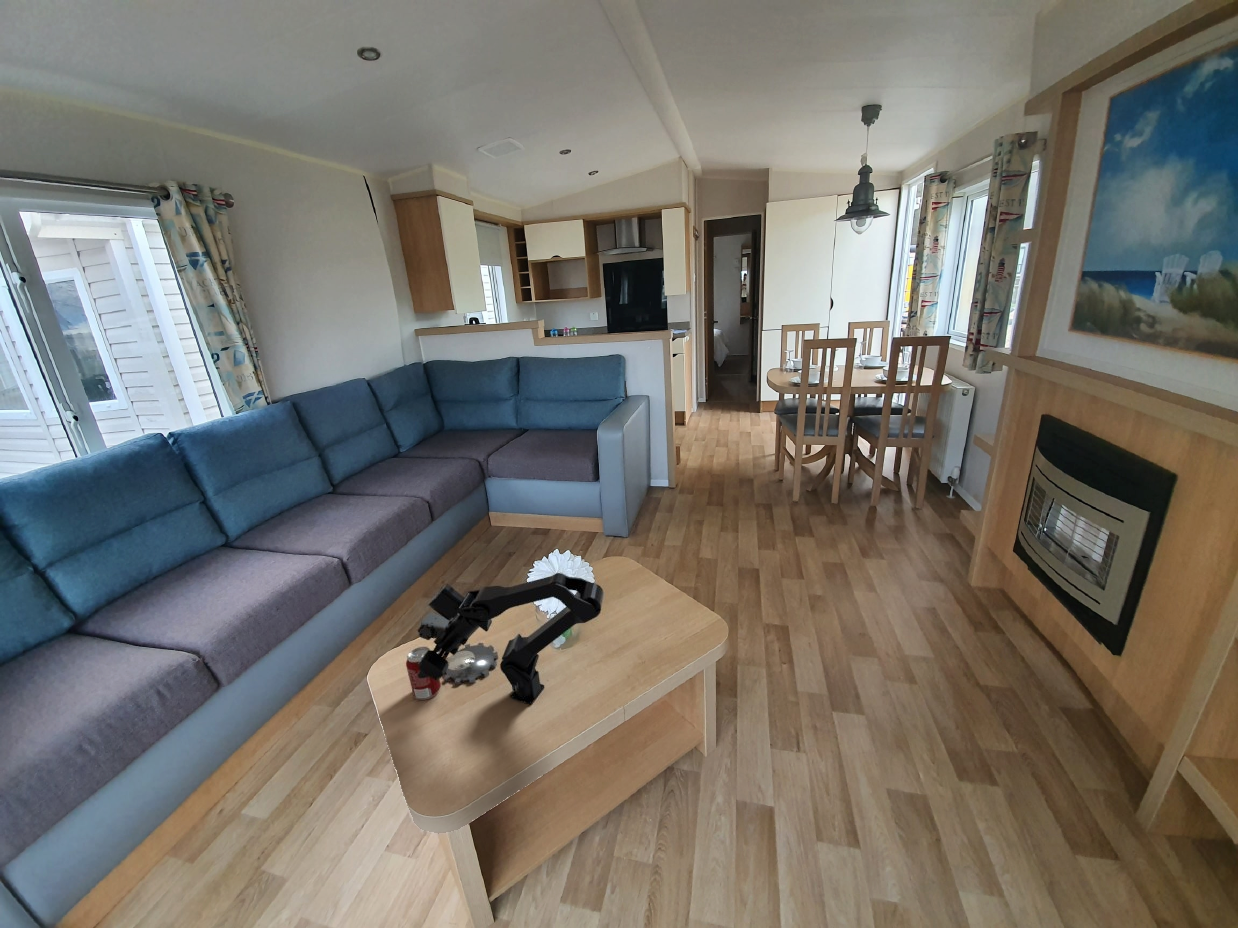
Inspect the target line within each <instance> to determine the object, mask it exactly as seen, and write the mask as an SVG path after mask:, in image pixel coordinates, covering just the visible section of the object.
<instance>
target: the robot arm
mask: <svg viewBox="0 0 1238 928" xmlns="http://www.w3.org/2000/svg"><path fill="white" fill-rule="evenodd" d="M572 591H575V593H574V592H572ZM551 598H554V599H557V600H559V602H561V603H562V604H563V605H564V606H565V607H564V608H562V610H561V609H560V611H559V612H557V614H555V615H554V616H553V617H551V618H550V619H548V621H546V622H545V623H543V625H541V626H540V627H539V628H537V629H536V630H535V631H534V632H532V633H531V634H530V635H528V636H522V634H521V633H518V634H517V635H516V636H515V637H514V638H512V639H510V640H508V642H507V645H506V647H505V649H504V653H503V654H502V656H501V662H500V664H499V667H500V671H501V672H502V674H504V676H505V677H506V679H507V680H508V683H509V684H510V685H511V689H512V693H511V694H510V696H509V698H510V699H511V700H513V701H514V700H515V701H517V702H521V703H524V704H525V705H526V704H527V705H532V704H533V703H534V702H535V701H536V700H537V698H538V697H539V695H540V694H541V693H542V692H543V690H544V689H545V685H544V684H541V681H540V674H539V671H537V669H536V666H537V663H538V661H539V658H540V655H539V654H540V653H541V651H543V650H544V649H545V648H546V647H548V646H549V645H550V644H552V643H553V642H555V641H556V640H557V639H558V638H560V637H561V636H562V635H563V634H565V633H567V631H569V630H570V629H571V628H573V626H575V625H577V624H578V625H579V624H586V623H588V622H590V621H592V620H593V619H596V618H598V617H599V615H600V614H601V610H602V606H603V600H604V589H603V588H602V587H601V585H599V584H598V583H595V582H591V581H589V580H586V579H584V578H582V577H577V576H576V577H574V576H569V575H566V574H564V573H562V572H556V573H554V574H552V575H550V576H547V577H542V578H539V579H535V580H532V581H528V582H527V581H526V582H523V583H520V584H516V585H511V586H507V587H505V586H501V585H492V586H491V585H489V586H484V587H483V588H481V589H475V590H474V589H473V590H468V591H467V593H466V594H465V595H462V594H461V593H460V592H458V591H456V589H454V588H453V587H452V586H451V585H450V584H449V583H446V585H444V586H442V587H441V588H440V589H439V590H438V591H437V592H436V594H434V596H433V597H432V598H431V599H430V601H429V602H428V604H427V606H428V607H429V608H431V609H432V610H433V611H435V612H436V613H433V612H432V611H431V612H427V613H426V615H424V617H423V619H422V620H421V622H420V625H419V627H418V629H417V632H418V636H419V638H421V639H423V640H424V639H425V640H427V641H431V639H434V640H433V643H434V644H435V647H434V648H433V649H430V650H428V651H427V652H426V653H425V654H424V655H423V657H422V658H421V660H420V662H419V663H418V668H419V669H420V672H419V673H418V675H417V677H419V678H420V679H421V678H426V677H432V678H433V679H434V680H440V679H442V678H443V677H444V676H445V674H444V673H445V672H446V670H447V668H448V666H449V664H448V661H447V660H446V658H448V656H449V655H450V654H451V655H452V654H453V655H455V654H456V652H457V651H459V650H460V647H461V646H463V647H465V645H467V642H468V640H469V638H470V637H471V636H472V635H474V633H475V632H477V630H478V629H479V628H480V629H482V630H483V631H485V632H488V631H489V629H490V627H491V626H492V623H493V619H495V618H497V617H499V616H500V615H502V614H503V613H504V612H506V611H507V610H510V609H512V608H516V607H520V606H523V605H527V604H532V603H535V602H539V601H543V600H547V599H551Z"/></svg>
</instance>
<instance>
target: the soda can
mask: <svg viewBox="0 0 1238 928" xmlns="http://www.w3.org/2000/svg"><path fill="white" fill-rule="evenodd" d="M428 650H431V649H430V648H429V647H428V646H419V647H416V648H414V649H413V650H410V652H409V653H408V654H407V656H406V657H407V659H406V662H405V666H406V671H407V674H408V679H409V683H410V686H411V687H410V688H411V691H412V692H411V693H412V695H413V697H414V698H415V699H417V700H422V701H423V700H429V699H431V698H433V697H434V696H435V695H436V694H438V693H439V691H440V689H441V685H442V684H441V681H440V679H439V680H434V679H433V678H432V677H426V678H421V679H420V678H419V677H417V675H418V673H419V672H420V669H419V668H418V663H419V662H420V660H421V658H422V657H423V655H424V654H425V653H426V652H427V651H428Z"/></svg>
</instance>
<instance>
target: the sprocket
mask: <svg viewBox="0 0 1238 928" xmlns="http://www.w3.org/2000/svg"><path fill="white" fill-rule="evenodd" d="M497 659H499V654H498V651H495V648H494V646H493V645H491V644H490V645H488V646H485V645H484V643H483V642H478V643H477V645H471V644H470V643H468V644H467V643H466V644H465V645H464V647H463V648H461V649H458V651H457V652H456V654H455V655H453V654H451V656H449V657H447V658H446V660H447V661H448V664H449V666H448V668H447V670H446V672H445V673H444V675H443V678H444V681H445V682H447V683H449V682H450V681H453V682H454V685H455V686H461V685H462V683H467V682H469V684H470V685H472V684H474V683H475V684H476V683H477V682H476V680H477V679H480V678H482V677H483V678H484V679H485V678H487V677H489V676H490V670H491V669H496V668H497V666H498V662H497Z"/></svg>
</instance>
